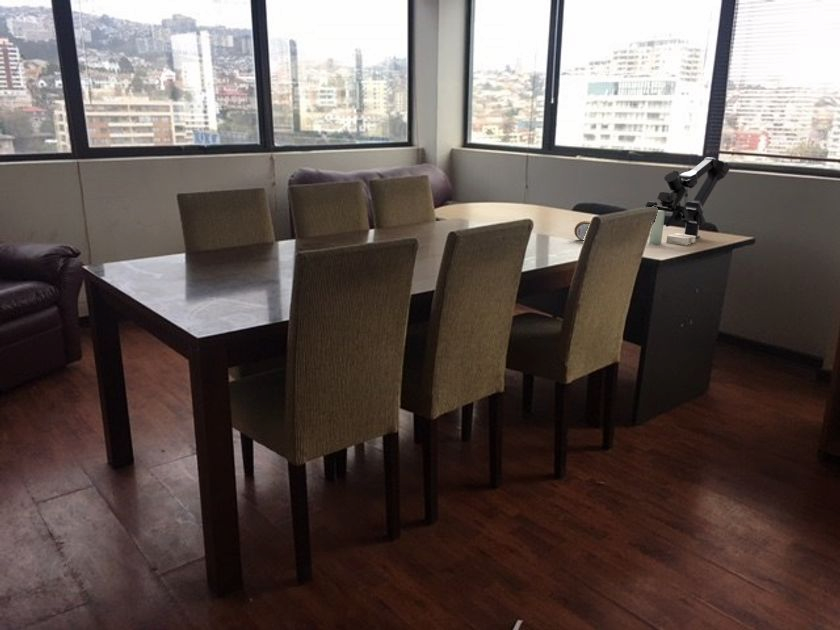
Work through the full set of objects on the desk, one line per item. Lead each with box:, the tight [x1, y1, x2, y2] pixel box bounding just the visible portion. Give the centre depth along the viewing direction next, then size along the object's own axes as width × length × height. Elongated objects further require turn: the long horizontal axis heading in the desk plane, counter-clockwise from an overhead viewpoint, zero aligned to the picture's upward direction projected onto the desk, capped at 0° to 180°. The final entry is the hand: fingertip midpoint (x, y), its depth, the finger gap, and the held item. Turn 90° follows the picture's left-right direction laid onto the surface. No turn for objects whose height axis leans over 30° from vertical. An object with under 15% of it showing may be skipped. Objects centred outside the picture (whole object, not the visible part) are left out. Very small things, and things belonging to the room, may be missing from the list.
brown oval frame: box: [574, 220, 591, 241], centre depth 301 cm, size 15×3×8 cm, turn 84°
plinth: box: [666, 232, 697, 246], centre depth 303 cm, size 9×9×3 cm
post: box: [648, 210, 666, 245], centre depth 299 cm, size 5×5×14 cm
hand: (657, 224), depth 298 cm, fingers open, 9 cm apart
